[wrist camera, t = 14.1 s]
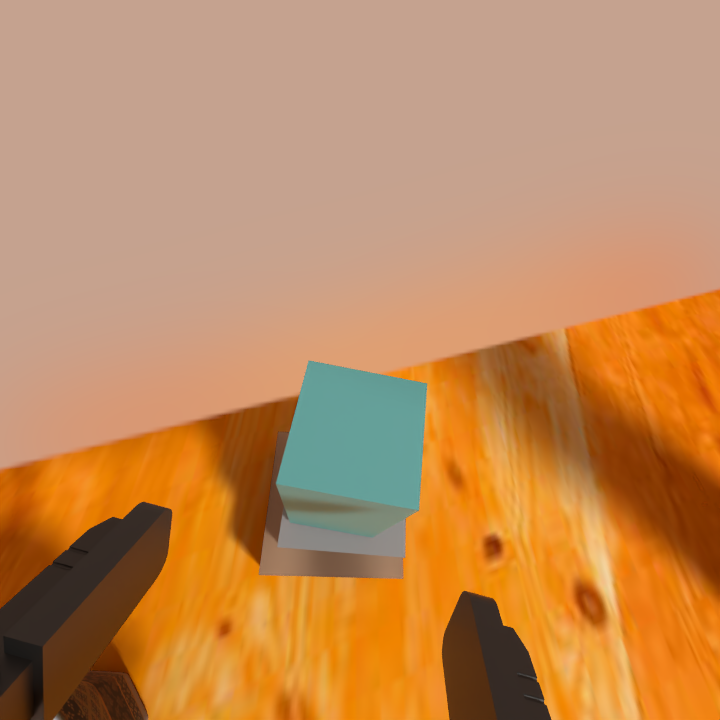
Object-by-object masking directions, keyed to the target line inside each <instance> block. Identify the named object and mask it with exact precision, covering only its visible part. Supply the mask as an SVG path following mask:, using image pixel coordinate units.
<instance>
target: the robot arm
mask: <svg viewBox="0 0 720 720" xmlns="http://www.w3.org/2000/svg"><path fill="white" fill-rule="evenodd" d="M171 520H172V510H171V509H168V508H165V507H161V506H157V505H154V504H150V503H146V502H141V503H139V504H138V505H137V506H136V507H135V508H134V509H133V510H132V511H131V512H130V513H129V514H127V515H126V516H125V517H124V518H123V519H119V518H115V517H112V518H110V519H108V520H106V521H104V522H102V523H100V524H98V525H96V526H94V527H92V528H90V529H89V530H88V531H87V532H85V533H84V534H83V535H82V536H81V537H80V538H79V539H78V540H76V541H75V542H74V543H73V544H72V545H71V546H70V548H69V549H68V550H65V551H64V552H63V553H62V554H61V555H60V556H59V557H58V558H56V559H55V560H54V561H53V564H52V565H51V566H50V565H49V566H48V567H46V568H45V569H44V570H43V571H42V572H41V573H40V574H39V575H38V576H36V577H35V578H34V579H33V580H32V581H31V582H30V583H29V584H28V585H26V586H25V587H24V588H23V589H22V590H21V591H20V592H19V593H18V594H16V595H15V596H14V597H13V598H12V599H11V600H10V601H9V602H8V603H6V604H5V605H4V606H3V607H2V608H1V609H0V720H53V719H54V718H55V716H56V715H57V714H58V712H59V711H60V709H61V708H62V707H63V705H64V704H65V703H66V701H67V700H68V699H69V697H70V696H71V694H72V693H73V692H74V690H75V689H76V688H77V686H78V685H79V684H80V682H81V681H82V679H83V678H84V677H85V675H86V674H87V673H88V671H89V670H90V669H91V667H92V666H93V665H94V663H95V662H96V660H97V659H98V658H99V656H100V655H101V654H102V652H103V651H104V650H105V648H106V647H107V645H108V644H109V643H110V641H111V640H112V639H113V637H114V636H115V635H116V633H117V632H118V630H119V629H120V628H121V626H122V625H123V624H124V622H125V621H126V620H127V618H128V617H129V615H130V614H131V613H132V611H133V610H134V609H135V607H136V606H137V605H138V603H139V602H140V600H141V599H142V598H143V596H144V595H145V594H146V592H147V591H148V590H149V588H150V587H151V585H152V584H153V583H154V581H155V580H156V578H157V577H158V575H159V574H160V572H161V570H162V568H163V566H164V563H165V561H166V558H167V554H168V547H169V538H170V529H171ZM442 659H443V668H444V676H445V685H446V693H447V701H448V710H449V718H450V720H551V717H550V714H549V712H548V709H547V706H546V705H545V704H544V697H543V694H542V691H541V688H540V685H539V683H538V682H537V676H536V673H535V670H534V667H533V664H532V661H531V658H530V655H529V653H528V651H527V649H526V648H525V646H524V644H523V643H522V641H521V640H520V638H519V637H518V635H517V634H516V632H515V630H514V629H513V628H511V627H507V626H503V623H502V620H501V617H500V613H499V610H498V607H497V604H496V602H495V600H494V599H493V598H489V597H485V596H482V595H478V594H474V593H471V592H467V591H464V592H462V594H461V596H460V598H459V600H458V602H457V605H456V607H455V609H454V612H453V614H452V616H451V619H450V621H449V623H448V626H447V628H446V630H445V633H444V638H443V646H442Z"/></svg>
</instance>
